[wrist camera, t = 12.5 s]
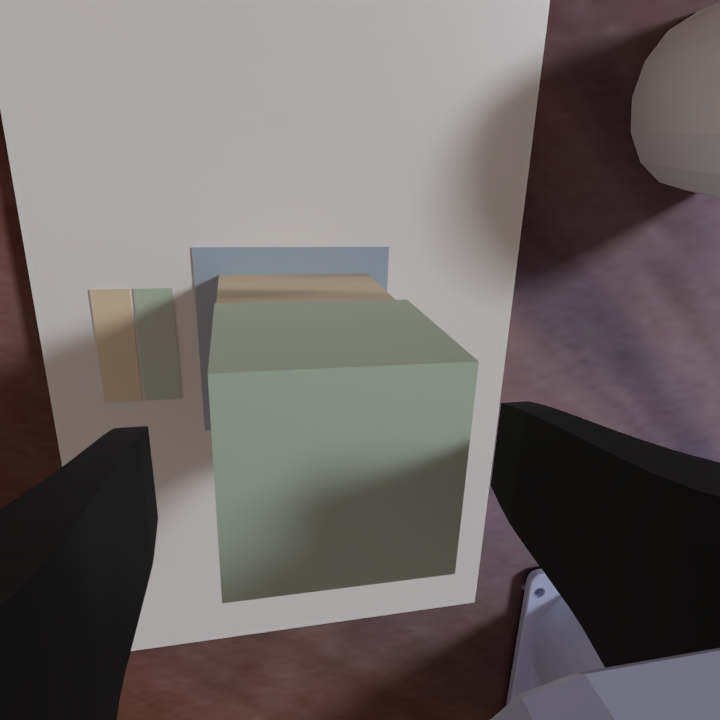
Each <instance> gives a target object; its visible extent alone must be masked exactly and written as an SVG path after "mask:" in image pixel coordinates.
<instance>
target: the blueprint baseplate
mask: <svg viewBox="0 0 720 720" xmlns="http://www.w3.org/2000/svg"><path fill="white" fill-rule="evenodd" d="M549 4H550V0H0V111H1V117H2V123H3V129H4V134H5V140H6V146H7V152H8V157H9V163H10V169H11V175H12V181H13V186H14V192H15V198H16V204H17V209H18V215H19V221H20V227H21V232H22V238H23V244H24V250H25V256H26V261H27V267H28V273H29V279H30V284H31V290H32V296H33V302H34V307H35V313H36V319H37V325H38V330H39V336H40V342H41V348H42V354H43V359H44V365H45V371H46V377H47V382H48V388H49V394H50V400H51V405H52V411H53V417H54V423H55V429H56V434H57V440H58V446H59V452H60V457H61V463H62V467H63V466H64V465H65V464H67V463H68V462H69V461H71V460H72V459H73V458H74V457H76V456H77V455H78V454H80V453H81V452H82V451H84V450H85V449H86V448H87V447H89V446H90V445H91V444H92V443H94V442H95V441H96V440H98V439H99V438H100V437H102V436H103V435H104V434H106V433H107V432H108V431H110V430H112V429H113V428H124V427H140V426H148V430H149V439H150V448H151V458H152V467H153V476H154V485H155V494H156V503H157V512H158V524H157V533H156V543H155V551H154V559H153V565H152V569H151V574H150V578H149V582H148V586H147V590H146V594H145V597H144V601H143V605H142V609H141V613H140V617H139V621H138V625H137V628H136V632H135V636H134V640H133V644H132V648H131V651H135V650H142V649H149V648H156V647H163V646H170V645H178V644H185V643H192V642H199V641H206V640H213V639H220V638H227V637H234V636H241V635H248V634H255V633H262V632H269V631H276V630H283V629H290V628H297V627H304V626H311V625H318V624H325V623H332V622H339V621H346V620H354V619H361V618H368V617H375V616H382V615H389V614H396V613H403V612H410V611H417V610H424V609H431V608H438V607H445V606H452V605H459V604H466V603H473V602H475V596H476V588H477V580H478V572H479V564H480V556H481V548H482V540H483V532H484V524H485V516H486V508H487V500H488V492H489V484H490V476H491V468H492V460H493V452H494V444H495V436H496V428H497V420H498V412H499V404H500V396H501V388H502V380H503V372H504V364H505V356H506V348H507V340H508V332H509V324H510V316H511V308H512V300H513V292H514V284H515V276H516V268H517V260H518V252H519V244H520V236H521V228H522V220H523V212H524V204H525V196H526V188H527V180H528V172H529V164H530V156H531V148H532V140H533V132H534V124H535V116H536V108H537V100H538V92H539V84H540V76H541V68H542V60H543V52H544V44H545V36H546V28H547V20H548V12H549ZM283 274H369V275H370V276H371V277H372V278H373V279H374V280H375V281H376V282H377V283H378V284H379V285H380V286H381V287H383V288H384V289H385V290H386V291H387V292H388V293H389V294H390V295H391V296H392V297H393V298H394V299H396V300H408V301H410V302H411V303H412V304H413V305H414V306H415V307H416V308H418V309H419V310H420V311H421V312H422V313H423V314H425V315H426V316H427V317H428V318H429V319H430V320H431V321H433V322H434V323H435V324H436V325H437V326H438V327H440V328H441V329H442V330H443V331H444V332H445V333H446V334H448V335H449V336H450V337H451V338H452V339H453V340H455V341H456V342H457V343H458V344H459V345H460V346H462V347H463V348H464V349H465V350H466V351H467V352H468V353H470V354H471V355H472V356H473V357H474V358H475V359H477V360H478V361H479V365H478V373H477V382H476V391H475V400H474V409H473V418H472V427H471V436H470V445H469V454H468V463H467V471H466V480H465V489H464V498H463V507H462V516H461V525H460V534H459V543H458V552H457V561H456V569H455V574H450V575H443V576H435V577H427V578H419V579H411V580H403V581H395V582H387V583H379V584H371V585H364V586H356V587H348V588H340V589H332V590H324V591H316V592H308V593H300V594H293V595H285V596H277V597H269V598H261V599H253V600H245V601H237V602H229V603H222V594H221V579H220V563H219V547H218V531H217V516H216V500H215V484H214V468H213V453H212V437H211V421H210V405H209V390H208V364H209V354H210V344H211V333H212V323H213V313H214V303H216V300H217V289H218V278H219V275H283Z"/></svg>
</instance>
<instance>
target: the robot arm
mask: <svg viewBox="0 0 720 720" xmlns="http://www.w3.org/2000/svg"><path fill="white" fill-rule="evenodd" d="M491 487H492V489H493V491H494V493H495V495H496V497H497V499H498V502H499V504H500V506H501V508H502V510H503V512H504V513H505V515H506V517H507V519H508V521H509V523H510V525H511V526H512V527H513V529H514V530H515V532H516V533H517V535H518V536H519V538H520V539H521V541H522V542H523V543H524V545H525V546H526V548H527V549H528V551H529V552H530V553H531V555H532V556H533V558H534V559H535V560H536V562H537V563H538V565H539V566H540V567H541V569H537V570H534V571H532V572H531V573H530V574H529V575H528V577H527V579H526V585H525V591H524V598H523V604H522V610H521V616H520V622H519V628H518V635H517V641H516V647H515V653H514V659H513V666H512V672H511V678H510V684H509V690H508V696H507V703H506V707H504V708H503V709H502V710H501V711H500V712H499V713H497V714H496V715H495V716H494V717H493V718H492V719H490V720H720V463H719V462H715V461H711V460H707V459H703V458H700V457H696V456H692V455H688V454H685V453H681V452H678V451H675V450H671V449H668V448H665V447H662V446H659V445H656V444H653V443H650V442H647V441H644V440H640V439H638V438H635V437H632V436H629V435H626V434H623V433H620V432H618V431H615V430H612V429H609V428H607V427H604V426H601V425H599V424H596V423H593V422H591V421H588V420H585V419H582V418H580V417H577V416H574V415H572V414H569V413H566V412H563V411H560V410H557V409H554V408H551V407H548V406H545V405H541V404H538V403H533V402H528V401H527V402H511V403H501V410H500V418H499V426H498V434H497V442H496V450H495V458H494V466H493V474H492V482H491ZM157 524H158V512H157V503H156V494H155V485H154V476H153V467H152V458H151V448H150V439H149V430H148V426H140V427H124V428H113V429H112V430H110V431H108V432H107V433H106V434H104V435H103V436H102V437H100V438H99V439H98V440H96V441H95V442H94V443H92V444H91V445H90V446H89V447H87V448H86V449H85V450H84V451H82V452H81V453H80V454H78V455H77V456H76V457H74V458H73V459H72V460H71V461H69V462H68V463H67V464H65V465H64V466H63V467H61V468H60V469H59V470H57V471H56V472H55V473H53V474H52V475H51V476H49V477H48V478H46V479H45V480H43V481H42V482H41V483H39V484H38V485H36V486H35V487H33V488H32V489H30V490H29V491H27V492H26V493H25V494H23V495H22V496H20V497H19V498H17V499H16V500H14V501H13V502H11V503H10V504H8V505H7V506H5V507H4V508H2V509H0V720H116V719H117V712H118V706H119V699H120V694H121V690H122V685H123V680H124V675H125V671H126V667H127V663H128V659H129V656H130V652H131V648H132V644H133V640H134V636H135V632H136V628H137V625H138V621H139V617H140V613H141V609H142V605H143V601H144V597H145V594H146V590H147V586H148V582H149V578H150V574H151V569H152V565H153V559H154V551H155V543H156V533H157ZM537 589H538V590H537ZM536 590H537V591H536Z"/></svg>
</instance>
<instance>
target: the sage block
mask: <svg viewBox="0 0 720 720" xmlns="http://www.w3.org/2000/svg"><path fill="white" fill-rule="evenodd" d="M478 365H479V361H478V360H477V359H475V358H474V357H473V356H472V355H471V354H470V353H468V352H467V351H466V350H465V349H464V348H463V347H462V346H460V345H459V344H458V343H457V342H456V341H455V340H453V339H452V338H451V337H450V336H449V335H448V334H446V333H445V332H444V331H443V330H442V329H441V328H440V327H438V326H437V325H436V324H435V323H434V322H433V321H431V320H430V319H429V318H428V317H427V316H426V315H425V314H423V313H422V312H421V311H420V310H419V309H418V308H416V307H415V306H414V305H413V304H412V303H411V302H410V301H408V300H361V301H311V302H262V303H214V313H213V323H212V333H211V344H210V354H209V364H208V390H209V405H210V421H211V437H212V453H213V468H214V484H215V500H216V516H217V531H218V547H219V563H220V579H221V594H222V603H229V602H237V601H245V600H253V599H261V598H269V597H277V596H285V595H293V594H300V593H308V592H316V591H324V590H332V589H340V588H348V587H356V586H364V585H371V584H379V583H387V582H395V581H403V580H411V579H419V578H427V577H435V576H443V575H450V574H455V569H456V561H457V552H458V543H459V534H460V525H461V516H462V507H463V498H464V489H465V480H466V471H467V463H468V454H469V445H470V436H471V427H472V418H473V409H474V400H475V391H476V382H477V373H478Z"/></svg>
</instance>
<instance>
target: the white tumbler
mask: <svg viewBox="0 0 720 720" xmlns="http://www.w3.org/2000/svg"><path fill="white" fill-rule="evenodd" d="M630 133H631V136H632V139H633V142H634V145H635V148H636V151H637V154H638V157H639V160H640V163H641V164H642V165H643V166H644V167H645V168H646V169H647V170H648V171H649V172H650V173H651V174H652V175H653V176H654V177H655V178H656V179H657V181H658V182H660V183H663V184H666V185H670V186H673V187H676V188H679V189H682V190H686V191H691V192H695V193H699V194H703V195H708V196H712V197H716V198H720V2H719V3H717V4H714V5H712V6H710V7H707V8H705V9H703V10H700V11H698V12H696V13H695V14H693V15H691V16H690V17H688V18H687V19H685V20H684V21H682V22H681V23H679V24H677V25H676V26H674V27H673V28H671V29H670V30H668V31H667V33H666V34H665V35H664V37H663V38H662V39H661V40H660V42H659V43H658V44H657V46H656V47H655V48H654V50H653V51H652V52H651V54H650V55H649V56H648V57H647V59H646V60H645V62H644V65H643V68H642V70H641V73H640V76H639V79H638V81H637V84H636V87H635V90H634V92H633V95H632V107H631V132H630Z"/></svg>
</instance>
